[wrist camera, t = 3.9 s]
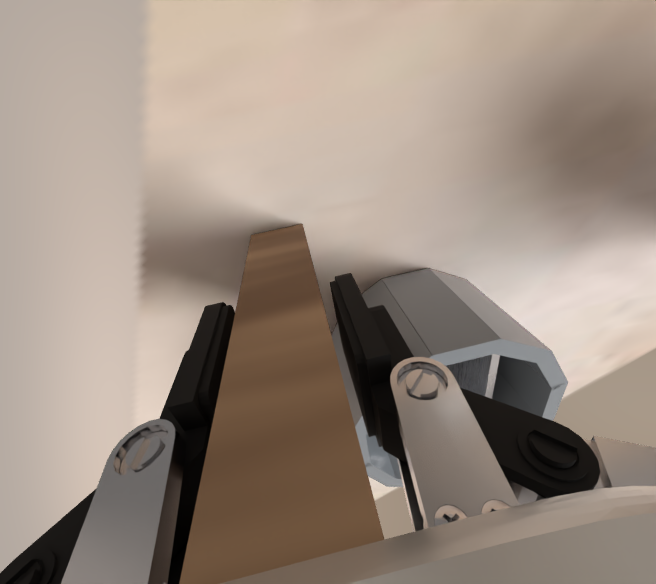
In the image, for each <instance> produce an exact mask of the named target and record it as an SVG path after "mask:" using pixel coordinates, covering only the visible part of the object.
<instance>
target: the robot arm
mask: <svg viewBox="0 0 656 584" xmlns="http://www.w3.org/2000/svg"><path fill="white" fill-rule="evenodd" d="M330 287H331V292H332V297H333V302H334V307H335V313H336V318H337V323H338V328H339V333H340V338H341V343H342V348H343V351H344V355H345V358H346V362H347V365H348V369H349V372H350V375H351V379H352V382H353V386H354V389H355V392H356V396H357V399H358V403H359V406H360V410H361V413H362V416H363V420H364V423H365V427H366V430H367V433H368V436H369V437H371V436H376V439H377V442H378V445H379V447H383V450H384V451H386V452H387V453H389V454H391V455H393V456H394V457H396V458H397V461H398V465H399V470H400V474H401V479H402V483H403V487H404V492H405V496H406V501H407V505H408V509H409V513H410V518H411V522H412V527H413V531H414V532H412V533H408V534H404V535H400V536H397V537H393V538H389V539H385V540H381V541H377V542H374V543H370V544H366V545H362V546H358V547H355V548H351V549H347V550H343V551H340V552H336V553H332V554H328V555H325V556H321V557H317V558H313V559H310V560H306V561H302V562H298V563H295V564H291V565H287V566H284V567H280V568H276V569H272V570H269V571H265V572H261V573H257V574H254V575H250V576H246V577H243V578H239V579H235V580H231V581H228V582H224V583H220V584H656V448H655V447H650V446H645V445H639V444H634V443H629V442H624V441H618V440H613V439H608V438H603V437H598V436H593V438H592V440H586V439H582V438H581V437H580V436H579V435H577V434H576V433H574V432H573V431H572V430H570V429H569V428H567V427H565V426H563V425H561V424H558V423H556V422H554V421H551V420H549V419H546V418H543V417H540V416H538V415H535V414H532V413H529V412H527V411H524V410H521V409H518V408H516V407H513V406H510V405H507V404H505V403H502V402H499V401H496V400H494V399H491V398H488V397H485V396H483V395H480V394H477V393H474V392H472V391H469V390H466V389H463V388H460V387H459V385H458V383H457V381H456V379H455V377H454V375H453V374H452V373H451V371H450V370H449V369H448V368H447V367H446V366H445V365H443V364H442V363H441V362H438V361H436V360H434V359H431V358H426V357H414V356H413V354H412V352H411V351H410V349H409V347H408V346H407V344H406V342H405V340H404V339H403V337H402V335H401V334H400V332H399V330H398V328H397V327H396V325H395V323H394V322H393V320H392V318H391V316H390V315H389V313H388V311H387V309H386V308H385V306H384V305H379V306H374V307H370V308H368V307H367V305H366V303H365V301H364V299H363V297H362V294H361V292H360V290H359V288H358V286H357V284H356V282H355V280H354V278H353V276H352V274H351V273H349V274H345V275H340V276H336V277H335V281H333V282H330ZM234 316H235V312H234V309H233V307H232V306H231V305H228V306H226V304H225V303H224V302H222V303H217V304H213V305H208V306H206V307H205V309H204V311H203V314H202V317H201V319H200V322H199V325H198V327H197V330H196V333H195V335H194V338H193V341H192V343H191V346H190V349H189V350H188V351H186V353H185V355H184V357H183V359H182V362H181V365H180V367H179V370H178V372H177V375H176V377H175V380H174V383H173V385H172V388H171V390H170V393H169V396H168V398H167V401H166V403H165V406H164V408H163V411H162V414H161V416H160V419H157V420H152V421H148V422H146V423H144V424H142V425H140V426H138V427H137V428H135V429H134V430H132V431H131V432H129V433H128V434H127V435H126V436H125V437H124V438H123V439H122V440H120V442H119V443H118V444H117V446H116V447H115V448H114V449H113V451H112V452H111V454H110V456H109V458H108V460H107V462H106V465H105V468H104V470H103V473H102V476H101V478H100V481H99V484H98V486H97V489H95V490H94V491H93V492H92V493H91V494H90V495H88V496H87V497H86V498H85V499H84V500H83V501H81V502H80V503H79V504H78V505H77V506H76V507H75V508H73V509H72V510H71V511H70V512H69V513H68V514H66V515H65V516H64V517H63V518H62V519H61V520H60V521H58V522H57V523H56V524H55V525H54V526H53V527H52V528H50V529H49V530H48V531H47V532H46V533H45V534H43V535H42V536H41V537H40V538H39V539H38V540H36V541H35V542H34V543H33V544H32V545H31V546H30V547H28V548H27V549H26V550H25V551H24V552H23V553H21V554H20V555H19V556H18V557H17V558H16V559H15V560H14V561H12V562H11V563H10V564H9V565H8V566H7V567H6V568H5V569H4V570H3V571H2V572H1V573H0V584H179V582H180V578H181V573H182V568H183V563H184V558H185V553H186V549H187V544H188V539H189V534H190V529H191V524H192V520H193V515H194V510H195V505H196V500H197V495H198V491H199V486H200V481H201V476H202V471H203V466H204V462H205V457H206V452H207V447H208V442H209V437H210V433H211V428H212V423H213V418H214V413H215V408H216V404H217V399H218V394H219V389H220V384H221V379H222V374H223V370H224V365H225V360H226V355H227V350H228V345H229V341H230V336H231V331H232V326H233V321H234Z"/></svg>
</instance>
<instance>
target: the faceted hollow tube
mask: <svg viewBox="0 0 656 584" xmlns="http://www.w3.org/2000/svg"><path fill="white" fill-rule="evenodd" d="M362 297H363V299H364V301H365V303H366V305H367V307H368V308H370V307H374V306H379V305H384V306H385V308H386V309H387V311H388V313H389V315H390V316H391V318H392V320H393V322H394V323H395V325H396V327H397V328H398V330H399V332H400V334H401V335H402V337H403V339H404V340H405V342H406V344H407V346H408V347H409V349H410V351H411V352H412V354H413V356H414V357H426V358H431V359H434V360H436V361H438V362H441V363H442V364H443V365H445V366H447V365H451V364H455V363H459V362H463V361H467V360H471V359H475V358H479V357H484V356H488V355H492V354H496V355H500V358H499V364H498V369H497V374H496V380H495V385H494V390H493V395H492V399H494V400H496V401H499V402H502V403H505V404H507V405H510V406H513V407H516V408H518V409H521V410H524V411H527V412H529V413H532V414H535V415H538V416H540V417H543V418H546V419H549V420H551V421H552V420H553V419H554V418H555V415H556V412H557V410H558V407H559V404H560V402H561V399H562V397H563V394H564V391H565V389H566V386H567V384H568V381H567V379H566V377H565V375H564V373H563V371H562V370H561V368H560V366H559V364H558V362H557V360H556V358H555V356H554V354H553V352H552V351H551V350H550V349H549V348H548V347H546V346H545V345H544V344H543V343H542V342H540V341H539V340H538V339H537V338H536V337H535V336H533V335H532V334H531V333H530V332H529V331H527V330H526V329H525V328H524V327H523V326H521V325H520V324H519V323H518V322H517V321H515V320H514V319H513V318H512V317H511V316H509V315H508V314H507V313H506V312H505V311H504V310H502V309H501V308H500V307H499V306H498V305H496V304H495V303H494V302H493V301H492V300H490V299H489V298H488V297H487V296H486V295H484V294H483V293H482V292H481V291H480V290H478V289H477V288H476V287H475V286H474V285H473V284H471V283H470V282H469V281H468V280H466V279H463V278H460V277H456V276H453V275H450V274H447V273H443V272H440V271H437V270H433V269H430V268H426V269H422V270H418V271H413V272H409V273H405V274H400V275H396V276H392V277H387V278H383V279H381V280H379V281H378V282H377V283H375V284H374V285H373V286H372V287H370V288H369V289H368V290H366V291H365V292H364V293H363V294H362ZM331 336H332V340H333V344H334V348H335V351H336V355H337V359H338V363H339V367H340V371H341V375H342V378H343V382H344V386H345V390H346V394H347V398H348V402H349V405H350V409H351V413H352V417H353V421H354V425H355V428H356V432H357V436H358V440H359V444H360V448H361V452H362V455H363V459H364V463H365V467H366V471H367V475H368V476H369V477H371V478H373V479H374V480H376V481H378V482H380V483H382V484H383V485H385V486H389V487H403V483H402V479H401V474H400V470H399V465H398V461H397V458H396V457H394V456H393V455H391V454H389V453H387V452H386V451H384V450H383V447H379V445H378V442H377V439H376V436H371V437H369V436H368V433H367V430H366V427H365V423H364V420H363V416H362V413H361V410H360V406H359V403H358V399H357V396H356V392H355V389H354V386H353V382H352V379H351V375H350V372H349V369H348V365H347V362H346V358H345V355H344V351H343V348H342V343H341V338H340V333H339V328H338V323H337V324H336V326H335V329H334V331H333V333H332V335H331Z"/></svg>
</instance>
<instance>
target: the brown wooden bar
mask: <svg viewBox="0 0 656 584" xmlns="http://www.w3.org/2000/svg"><path fill="white" fill-rule="evenodd" d="M381 540H384V536H383V533H382V529H381V525H380V521H379V518H378V513H377V509H376V506H375V502H374V498H373V494H372V490H371V486H370V482H369V479H368V475H367V471H366V467H365V463H364V459H363V455H362V452H361V448H360V444H359V440H358V436H357V432H356V428H355V425H354V421H353V417H352V413H351V409H350V405H349V402H348V398H347V394H346V390H345V386H344V382H343V378H342V375H341V371H340V367H339V363H338V359H337V355H336V351H335V348H334V344H333V340H332V336H331V332H330V328H329V324H328V321H327V317H326V313H325V309H324V305H323V301H322V297H321V294H320V290H319V286H318V282H317V278H316V274H315V270H314V267H313V263H312V259H311V255H310V251H309V247H308V243H307V240H306V236H305V232H304V228H303V224H299V225H295V226H290V227H286V228H281V229H277V230H272V231H267V232H263V233H258V234H254V235H251V239H250V244H249V249H248V254H247V258H246V263H245V268H244V273H243V278H242V283H241V287H240V292H239V297H238V302H237V307H236V312H235V316H234V321H233V326H232V331H231V336H230V341H229V345H228V350H227V355H226V360H225V365H224V370H223V374H222V379H221V384H220V389H219V394H218V399H217V404H216V408H215V413H214V418H213V423H212V428H211V433H210V437H209V442H208V447H207V452H206V457H205V462H204V466H203V471H202V476H201V481H200V486H199V491H198V495H197V500H196V505H195V510H194V515H193V520H192V524H191V529H190V534H189V539H188V544H187V549H186V553H185V558H184V563H183V568H182V573H181V578H180V582H179V584H220V583H224V582H228V581H231V580H235V579H239V578H243V577H246V576H250V575H254V574H257V573H261V572H265V571H269V570H272V569H276V568H280V567H284V566H287V565H291V564H295V563H298V562H302V561H306V560H310V559H313V558H317V557H321V556H325V555H328V554H332V553H336V552H340V551H343V550H347V549H351V548H355V547H358V546H362V545H366V544H370V543H374V542H377V541H381Z"/></svg>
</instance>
